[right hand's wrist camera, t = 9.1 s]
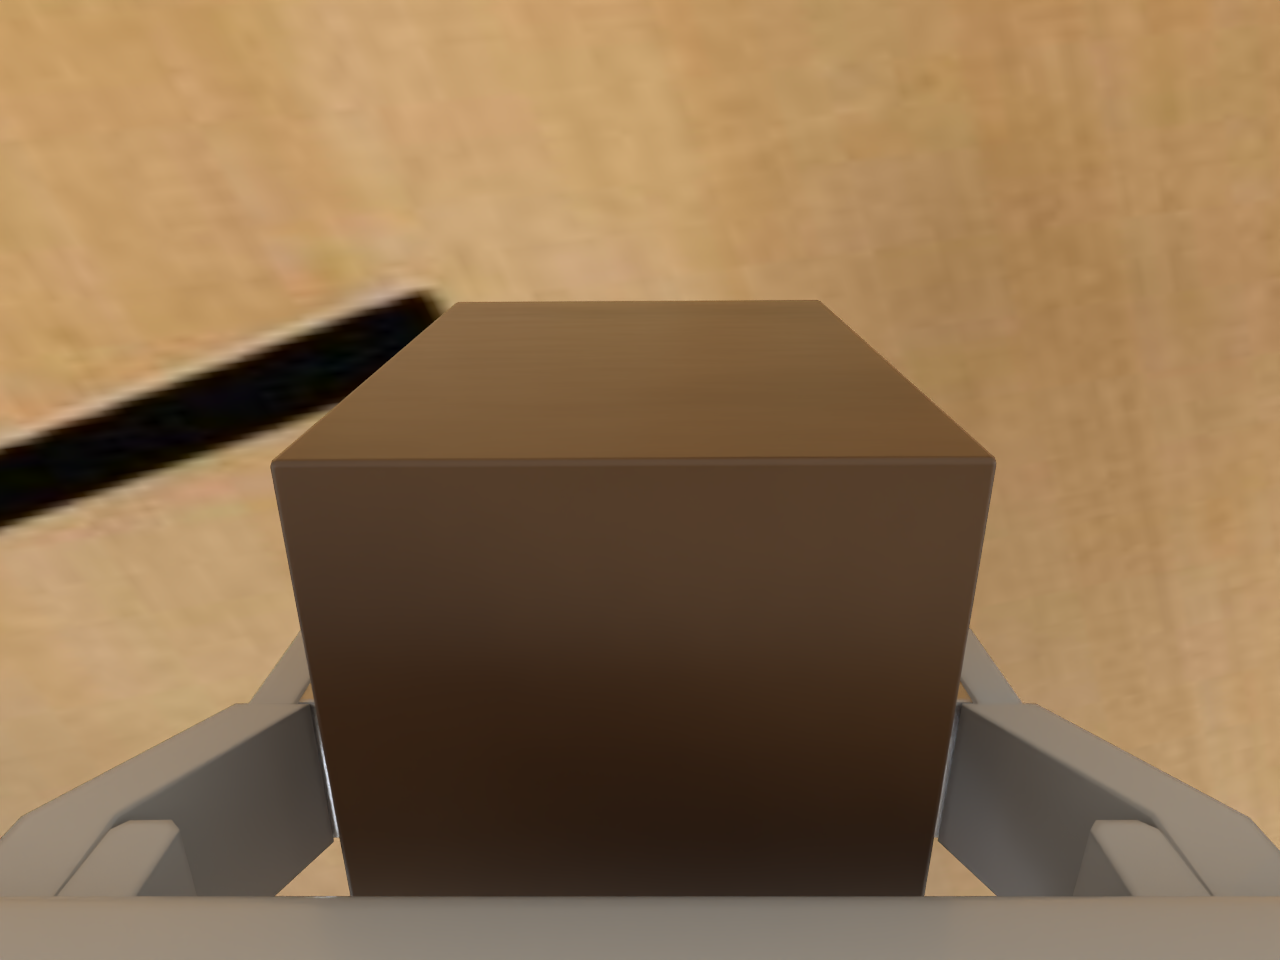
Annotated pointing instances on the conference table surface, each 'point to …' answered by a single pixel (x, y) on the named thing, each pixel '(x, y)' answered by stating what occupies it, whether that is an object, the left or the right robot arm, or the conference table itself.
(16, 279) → the conference table surface
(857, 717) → the post
